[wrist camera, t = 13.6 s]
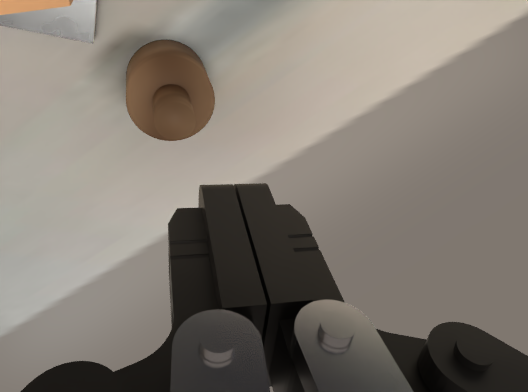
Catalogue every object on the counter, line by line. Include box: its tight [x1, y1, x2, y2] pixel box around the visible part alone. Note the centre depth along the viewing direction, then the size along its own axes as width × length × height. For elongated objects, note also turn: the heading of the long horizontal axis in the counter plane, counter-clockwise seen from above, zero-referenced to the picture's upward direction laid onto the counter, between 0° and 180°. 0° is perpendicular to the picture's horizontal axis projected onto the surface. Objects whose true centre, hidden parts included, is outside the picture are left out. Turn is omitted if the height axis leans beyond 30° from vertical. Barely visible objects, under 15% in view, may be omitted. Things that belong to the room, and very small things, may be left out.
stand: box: [126, 40, 215, 141], centre depth 29 cm, size 6×6×7 cm
